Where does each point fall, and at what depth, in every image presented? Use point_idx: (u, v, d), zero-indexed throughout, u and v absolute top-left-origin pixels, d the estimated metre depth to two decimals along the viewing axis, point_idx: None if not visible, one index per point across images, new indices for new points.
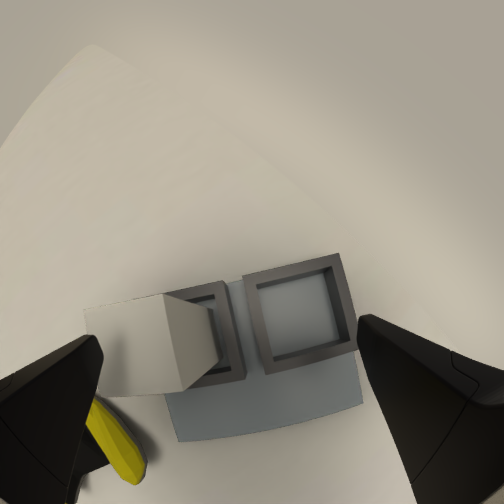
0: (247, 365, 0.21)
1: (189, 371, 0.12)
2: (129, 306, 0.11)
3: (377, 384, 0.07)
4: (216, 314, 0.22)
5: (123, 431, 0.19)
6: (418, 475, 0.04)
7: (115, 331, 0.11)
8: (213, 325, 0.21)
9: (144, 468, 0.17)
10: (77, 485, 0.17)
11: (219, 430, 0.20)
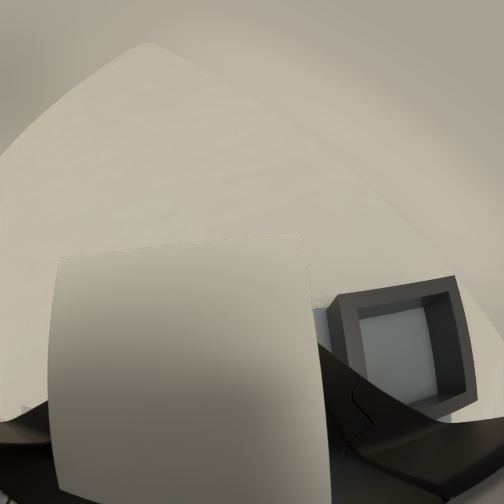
0: None
1: None
2: (190, 258, 0.04)
3: None
4: None
5: None
6: None
7: (128, 324, 0.04)
8: None
9: None
10: None
11: None
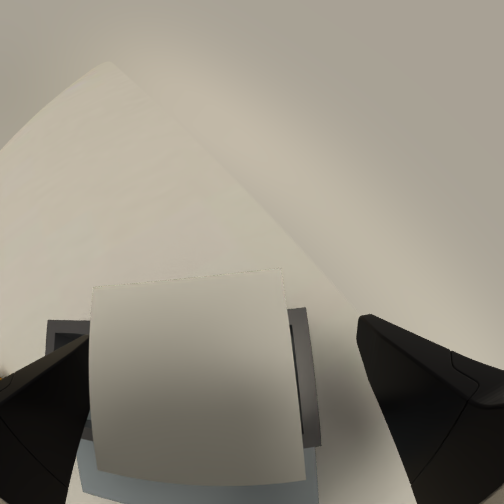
0: None
1: None
2: (199, 289, 0.05)
3: (377, 384, 0.07)
4: None
5: None
6: (418, 475, 0.04)
7: (154, 339, 0.05)
8: None
9: None
10: None
11: (126, 495, 0.12)
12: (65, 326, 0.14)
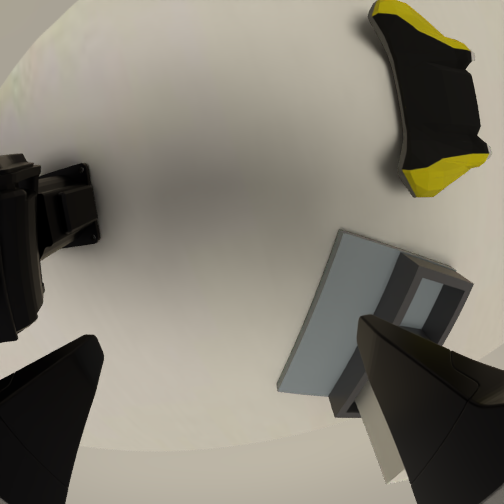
0: None
1: None
2: None
3: (377, 384, 0.07)
4: (415, 322, 0.23)
5: None
6: (418, 475, 0.04)
7: None
8: None
9: (414, 194, 0.16)
10: (389, 44, 0.14)
11: (335, 282, 0.21)
12: (463, 301, 0.19)
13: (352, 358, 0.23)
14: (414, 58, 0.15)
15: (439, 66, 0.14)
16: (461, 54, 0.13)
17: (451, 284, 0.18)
